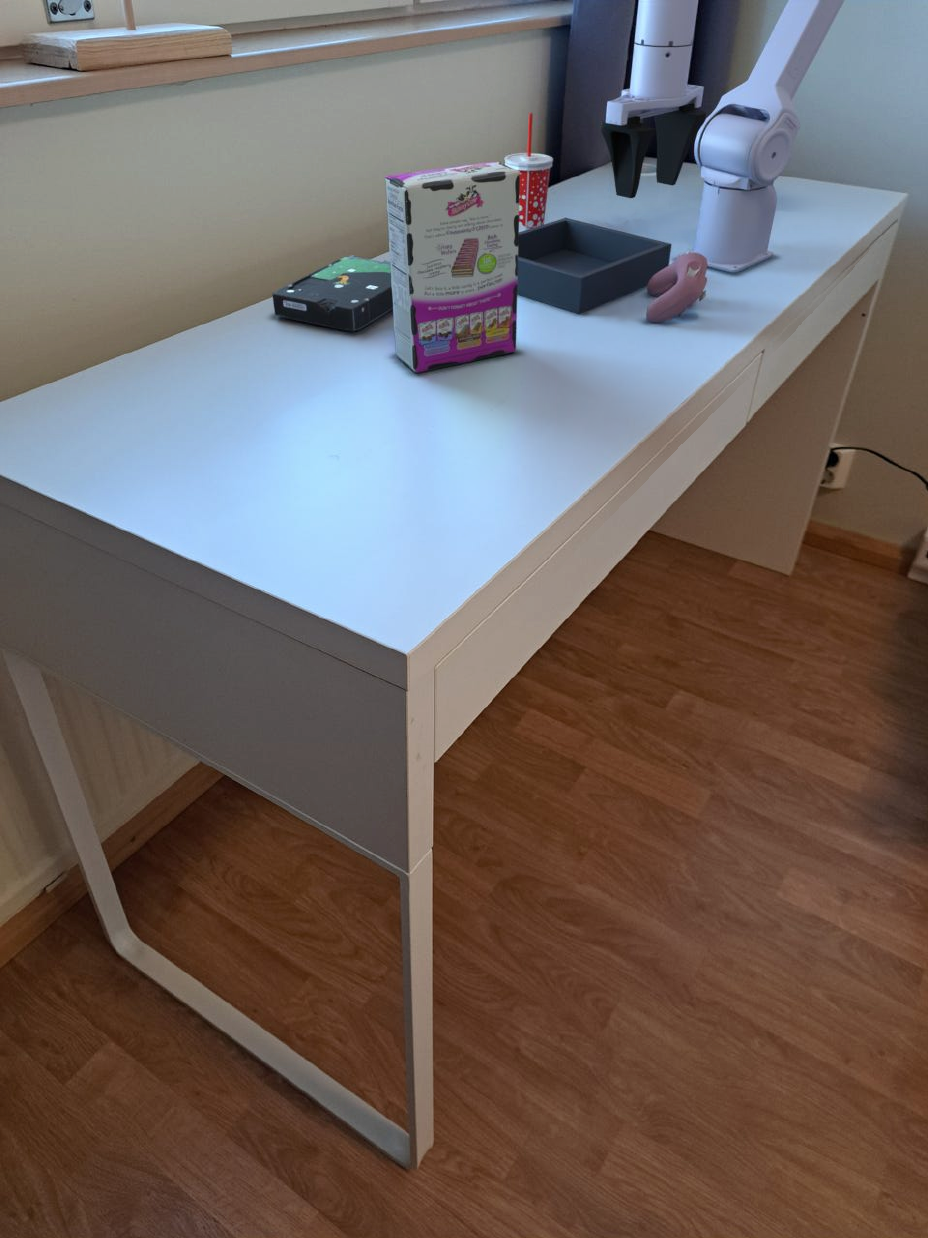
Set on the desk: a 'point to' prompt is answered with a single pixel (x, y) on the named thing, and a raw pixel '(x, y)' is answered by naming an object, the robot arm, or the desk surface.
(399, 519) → the desk surface
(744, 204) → the robot arm
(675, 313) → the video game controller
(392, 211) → the candy bar box
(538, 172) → the beverage cup
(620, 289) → the bin
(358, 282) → the disk drive
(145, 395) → the desk surface
